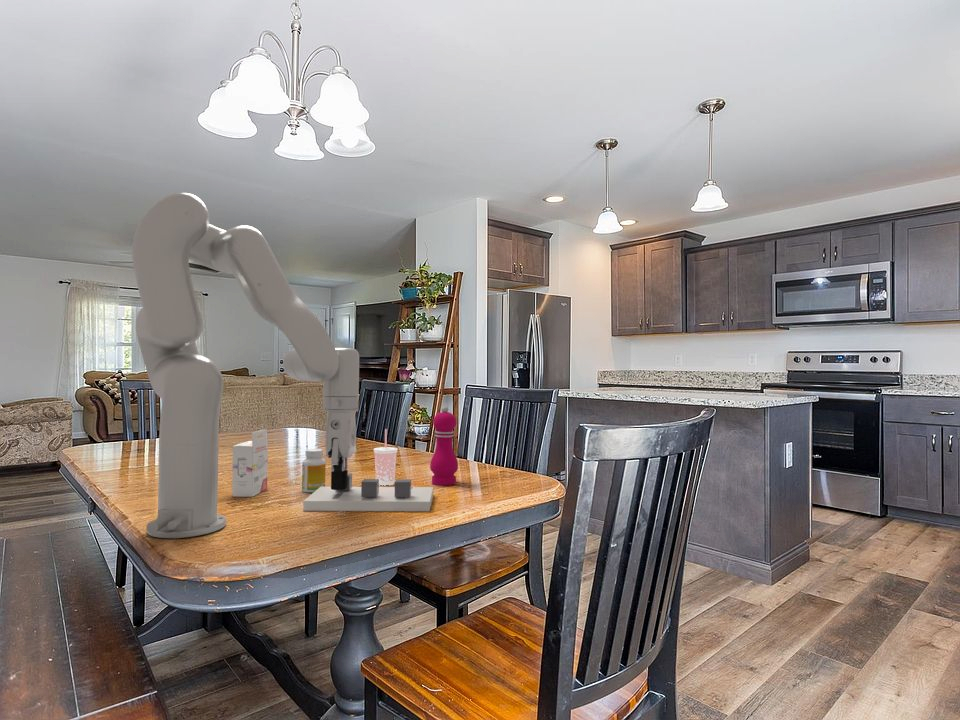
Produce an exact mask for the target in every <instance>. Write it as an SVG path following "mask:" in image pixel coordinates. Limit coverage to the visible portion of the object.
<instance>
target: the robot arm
mask: <svg viewBox="0 0 960 720" xmlns="http://www.w3.org/2000/svg"><path fill="white" fill-rule="evenodd" d="M210 219H211V218H210V212H209V210H208V207H207V206H206V204H205V202H204V201H203V200H202V199H201V198H199V197H198V196H197V195H194V194H193V193H188V192H175V193H172V194H169V195H167V196H165V197H163V198H161V199H160V200H158V201H157V202H156V203H155V204H153V205H152V206H151V207H149V209H148V210H147V211H146V212H145V214H144V215H143V216H142V218H141V220H140V221H139V224H138V226H137V228H136V230H135V233H134V236H133V240H132V241H133V242H132V248H131V249H132V250H131V252H132V253H131V255H132V256H131V257H132V265H133V270H134V276H135V279H136V284H137V290H138V293H139V297H140V301H141V306H142V308H141V309H140V310H139V312H138V313H137V315H136V320H135V333H136V338H137V341H138V345H139V348H140V353H141V356H142V359H143V363H144V366H145V370H146V374H147V377H148V381H149V383H150V386H151V388H152V390H153V392H154V393H155V394H156V395H157V396H158V397H159V398H160V399H161V400H162V404H161V411H160V421H159V435H158V437H159V439H158V444H159V445H158V446H159V449H158V487H157V491H158V493H157V517H156V518H155V519H154V520H152V521H149V522H148V523H147V524H146V534H147V535H149V536H151V537H154V538H159V539H181V538H193V537H198V536H203V535H207V534H212V533H214V532H217V531H219V530H221V529H223V528H224V527H225V526H226V525H227V517H225V516H224V515H222V514H218V490H219V489H218V484H219V482H218V479H219V446H220V445H219V436H220V435H219V432H220V431H219V429H220V416H221V415H220V412H221V405H222V401H223V400H222V399H223V391H224V379H223V375H222V372H221V370H220V368H219V366H217V364H216V362H214V361H213V360H211V359H210V358H208V357H207V356H204V355H201V354H199V351H198V347H197V343H196V342H197V340H199V338H200V337H201V336H202V333H203V331H204V320H203V316H202V313H201V309H200V306H199V303H198V299H197V295H196V291H195V288H194V284H193V280H192V279H193V278H192V276H191V275H192V274H191V271H190V270H191V269H190V262H191V261H192V262H194V263H196V264H198V265H201V266H202V267H203V266H204V267H206V268H209V269H212V270H214V271H218V272H220V273H223V274H228V275H233V276H234V278H235V280H236V281H237V283H238V285H239V287H240V288H241V290H242V292H243V293H244V296H245V297H246V300H247V301H248V302H249V304H250V306H251V308H252V310H253V312H255V313H256V314H257V315H258V316H259V317H261V319H263V320H264V321H266V322H268V323H270V324H271V325H273V326H274V327H276V328H277V329H278V330H279V331H280V332H281V333H282V334H283V335H284V336H285V337H286V338H287V340H288V341H289V343H290V344H291V345H292V347H293V348H291V349H290V350H289V351H288V352H287V353H286V354H285V355H284V358H283V359H282V360H283V361H282V366H283V367H282V368H283V370H284V372H285V374H286V375H288V377H290V378H292V379H293V380H295V381H299V382H317V383H320V382H321V383H322V382H323V383H322V385H323V386H322V412H325V413H327V415H326V421H325V422H326V427H325V457H327V459H331V460H330V461H331V466H330V467H331V472H330V473H331V475H330V487H331V489H332V490H345V489H346V488H347V480H348V474H349V471H348V470H349V469H348V463H349V462H348V461H349V459H350V458H351V457H352V456H353V455H354V454H356V452H357V425H356V413H355V412H359V393H360V391H359V389H360V353H359V351H358V350H357V349H355V348H352V347H351V348H350V347H335V345H334V343H333V341H332V339H331V337H330V335H329V334H328V332H327V330H326V328H325V327H324V325H323V324H322V322H321V321H320V320H319V318H318V317H317V316H316V314H314V312H313V311H312V309H310V308H309V307H308V306H307V305H306V304H305V302H303V300H301V298H300V297H299V296H298V295H297V294H296V293H295V291H294V290H293V288H292V286H291V285H290V283H289V280H288V279H287V277H286V275H285V273H284V272H283V269H282V267H281V266H280V264H279V262H278V260H277V257H276V256H275V254H274V252H273V251H272V248H271V247H270V245H269V242H268V241H267V240H266V238H265V237H264V235H263V233H261V231H259V229H257V228H255V227H253V226H250V225H237V226H233V227H231V228H229V229H227V230H225V229H222V228H219V227H217V226H214V225H213V224H210ZM189 261H190V262H189Z"/></svg>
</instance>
